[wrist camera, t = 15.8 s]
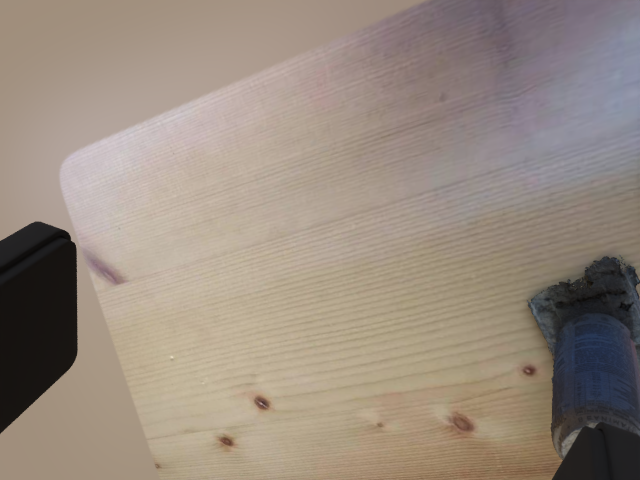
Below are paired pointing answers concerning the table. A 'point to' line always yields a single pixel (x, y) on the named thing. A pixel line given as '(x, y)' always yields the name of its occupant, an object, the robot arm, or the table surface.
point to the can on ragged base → (592, 351)
